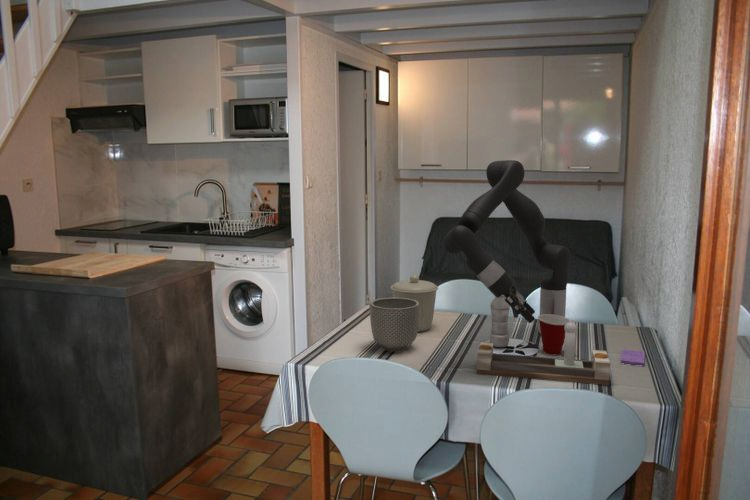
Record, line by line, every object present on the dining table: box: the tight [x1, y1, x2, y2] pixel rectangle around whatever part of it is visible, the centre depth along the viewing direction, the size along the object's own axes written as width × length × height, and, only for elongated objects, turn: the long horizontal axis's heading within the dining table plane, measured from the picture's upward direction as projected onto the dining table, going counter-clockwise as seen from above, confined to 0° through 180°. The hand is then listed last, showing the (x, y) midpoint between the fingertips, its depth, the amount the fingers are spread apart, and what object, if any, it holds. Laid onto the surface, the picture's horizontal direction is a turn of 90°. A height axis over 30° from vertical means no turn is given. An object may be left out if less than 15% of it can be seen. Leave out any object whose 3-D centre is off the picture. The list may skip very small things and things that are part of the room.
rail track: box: [476, 341, 611, 386], centre depth 188 cm, size 12×38×7 cm, turn 75°
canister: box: [390, 274, 439, 333], centre depth 235 cm, size 18×18×21 cm
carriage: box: [555, 321, 584, 369], centre depth 185 cm, size 6×8×15 cm
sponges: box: [620, 349, 645, 367], centre depth 200 cm, size 7×13×2 cm, turn 156°
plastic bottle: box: [489, 295, 511, 348], centre depth 213 cm, size 6×7×20 cm
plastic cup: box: [537, 314, 572, 356], centre depth 207 cm, size 11×11×12 cm
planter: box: [369, 296, 420, 352], centre depth 212 cm, size 17×17×16 cm
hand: (532, 317), depth 187 cm, fingers open, 8 cm apart
